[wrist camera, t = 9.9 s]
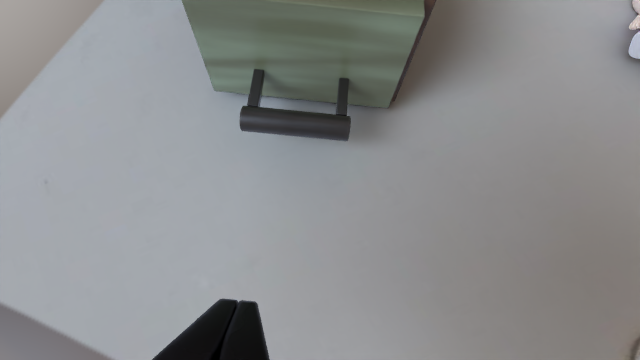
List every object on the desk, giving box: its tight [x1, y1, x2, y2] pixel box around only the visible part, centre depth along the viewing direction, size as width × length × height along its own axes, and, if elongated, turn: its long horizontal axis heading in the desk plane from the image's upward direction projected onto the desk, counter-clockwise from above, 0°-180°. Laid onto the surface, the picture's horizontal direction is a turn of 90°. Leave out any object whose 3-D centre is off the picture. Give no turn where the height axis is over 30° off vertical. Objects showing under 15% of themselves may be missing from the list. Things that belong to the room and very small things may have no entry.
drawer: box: [182, 0, 425, 141], centre depth 22 cm, size 16×11×8 cm
